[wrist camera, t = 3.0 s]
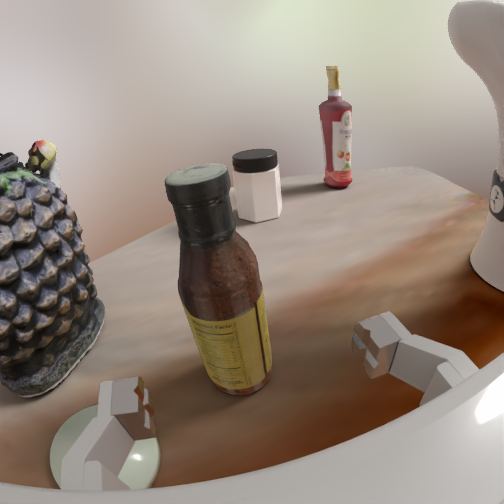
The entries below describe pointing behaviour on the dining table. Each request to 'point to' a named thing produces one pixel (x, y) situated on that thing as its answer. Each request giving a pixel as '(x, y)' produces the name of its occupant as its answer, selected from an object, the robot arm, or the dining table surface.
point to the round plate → (135, 467)
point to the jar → (257, 185)
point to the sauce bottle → (219, 281)
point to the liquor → (336, 133)
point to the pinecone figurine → (42, 277)
